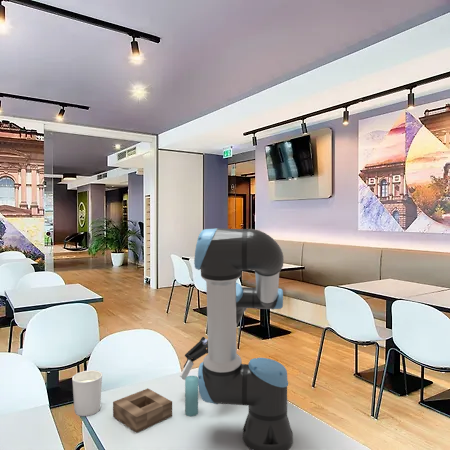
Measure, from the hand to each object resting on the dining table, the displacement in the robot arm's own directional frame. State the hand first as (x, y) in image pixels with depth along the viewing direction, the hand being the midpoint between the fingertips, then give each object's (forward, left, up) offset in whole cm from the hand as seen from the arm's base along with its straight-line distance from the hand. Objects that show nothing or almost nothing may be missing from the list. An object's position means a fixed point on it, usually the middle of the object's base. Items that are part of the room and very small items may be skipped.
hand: (195, 383), depth 135 cm
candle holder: (+26, +27, -9) cm, 39 cm away
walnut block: (+9, +16, -9) cm, 20 cm away
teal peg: (-1, +3, -9) cm, 9 cm away
